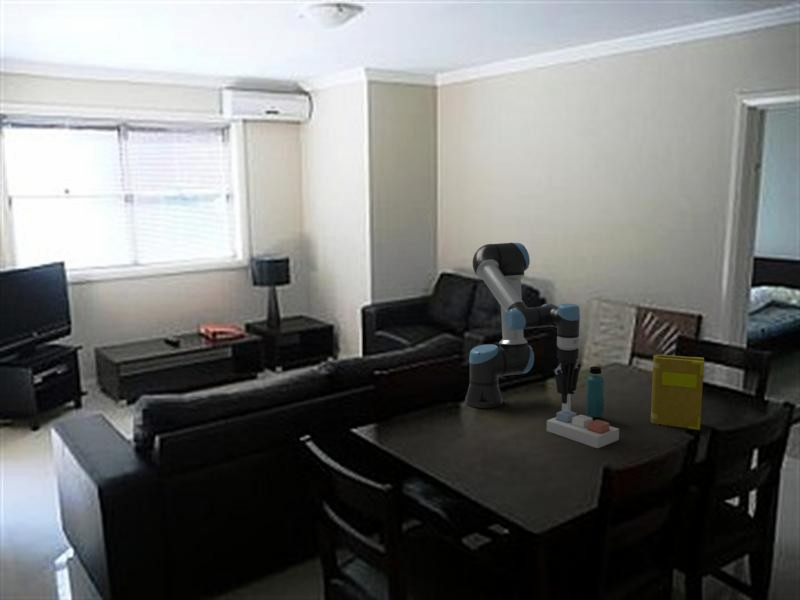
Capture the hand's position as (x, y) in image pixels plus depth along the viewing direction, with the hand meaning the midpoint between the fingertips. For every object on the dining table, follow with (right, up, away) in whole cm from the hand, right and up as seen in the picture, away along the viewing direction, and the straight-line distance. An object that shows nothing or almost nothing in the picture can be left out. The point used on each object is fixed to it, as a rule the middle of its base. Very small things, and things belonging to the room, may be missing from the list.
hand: (566, 411), depth 249 cm
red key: (+9, -7, -10) cm, 15 cm away
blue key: (0, -6, +1) cm, 6 cm away
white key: (+4, -6, -5) cm, 9 cm away
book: (+41, -6, +5) cm, 42 cm away
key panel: (+4, -8, -4) cm, 10 cm away
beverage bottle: (+14, -5, +13) cm, 19 cm away
